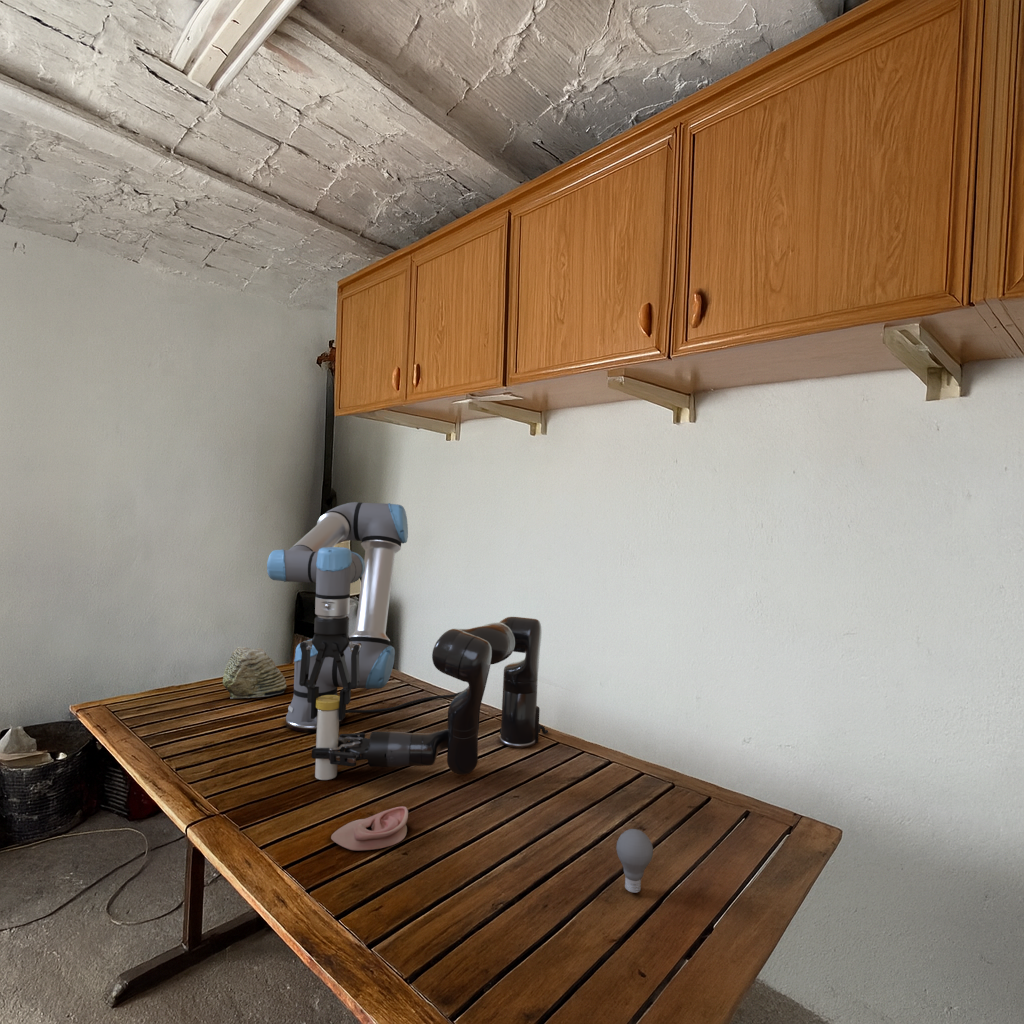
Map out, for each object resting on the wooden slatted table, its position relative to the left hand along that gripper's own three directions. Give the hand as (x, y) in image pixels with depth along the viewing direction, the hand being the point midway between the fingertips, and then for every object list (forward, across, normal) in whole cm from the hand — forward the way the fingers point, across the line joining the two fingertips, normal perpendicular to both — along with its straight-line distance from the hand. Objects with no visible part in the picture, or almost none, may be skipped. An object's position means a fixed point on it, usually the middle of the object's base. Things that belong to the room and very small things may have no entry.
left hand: (328, 717), depth 144 cm
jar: (+13, 0, 0) cm, 13 cm away
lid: (-4, 0, 0) cm, 4 cm away
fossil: (+13, -40, +53) cm, 68 cm away
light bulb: (+13, +63, -37) cm, 75 cm away
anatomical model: (+13, +16, -24) cm, 32 cm away
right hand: (+7, -3, 0) cm, 8 cm away
